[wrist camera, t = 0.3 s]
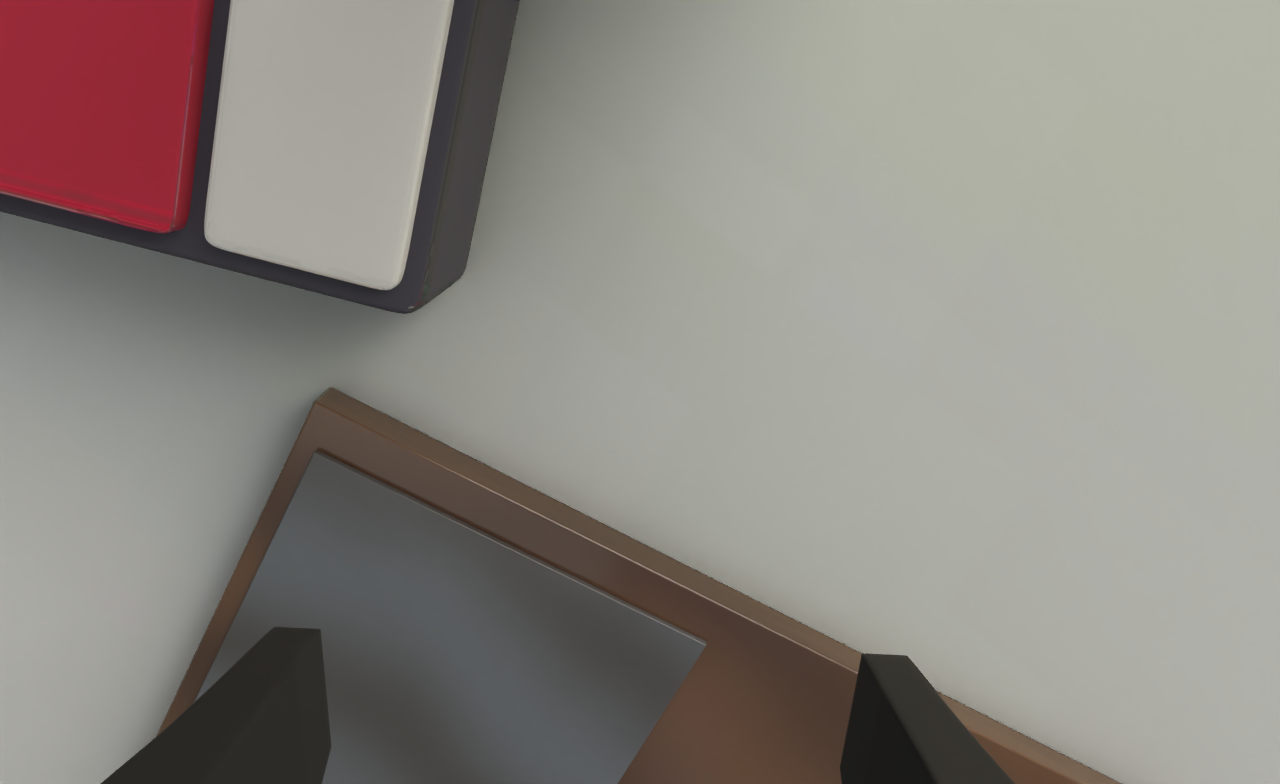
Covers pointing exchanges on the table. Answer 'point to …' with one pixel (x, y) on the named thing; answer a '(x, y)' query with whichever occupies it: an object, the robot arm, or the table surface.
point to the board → (528, 634)
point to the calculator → (260, 132)
